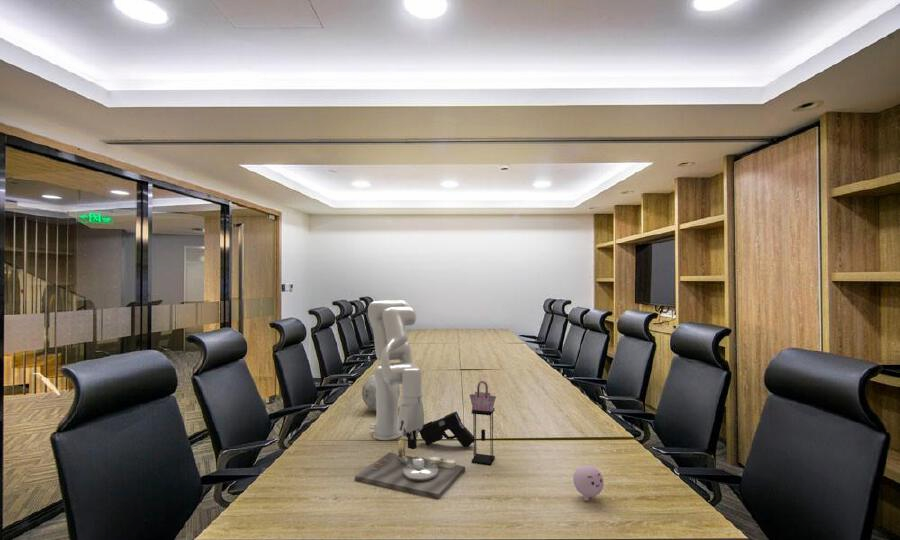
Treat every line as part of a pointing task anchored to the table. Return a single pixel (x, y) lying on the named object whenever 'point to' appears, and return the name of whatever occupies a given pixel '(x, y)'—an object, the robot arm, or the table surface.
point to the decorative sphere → (373, 392)
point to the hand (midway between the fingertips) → (412, 448)
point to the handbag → (482, 406)
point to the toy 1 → (449, 422)
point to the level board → (392, 476)
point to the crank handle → (416, 466)
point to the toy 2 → (588, 481)
